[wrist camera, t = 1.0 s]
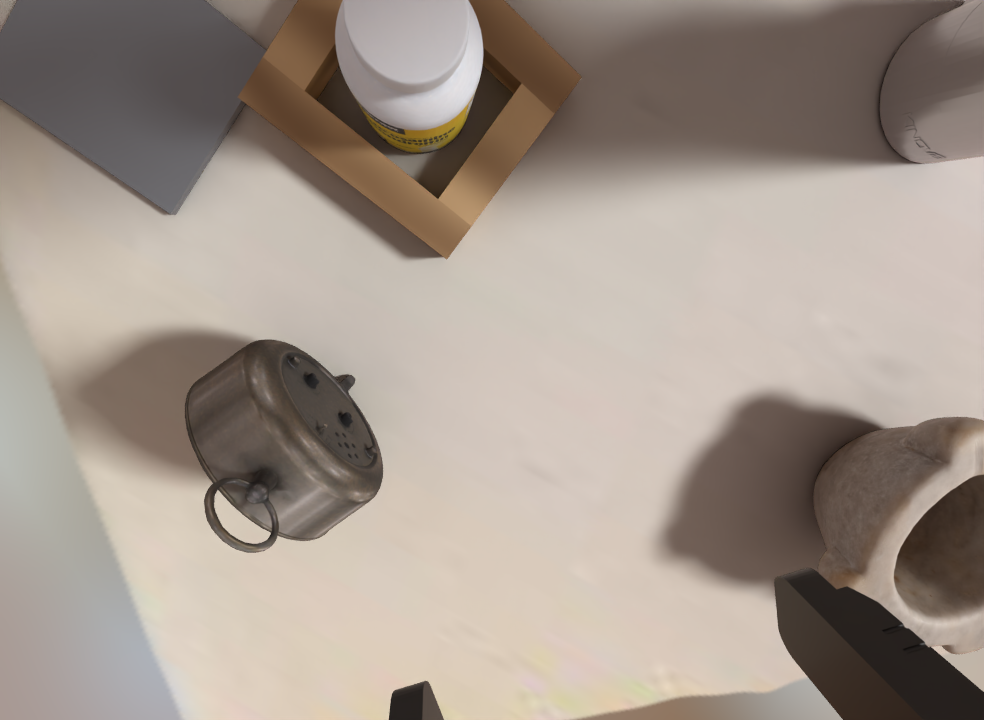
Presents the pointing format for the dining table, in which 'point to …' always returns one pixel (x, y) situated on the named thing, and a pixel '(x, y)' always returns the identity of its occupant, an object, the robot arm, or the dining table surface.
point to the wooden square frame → (438, 222)
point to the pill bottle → (411, 67)
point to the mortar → (911, 526)
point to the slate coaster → (130, 84)
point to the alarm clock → (281, 443)
